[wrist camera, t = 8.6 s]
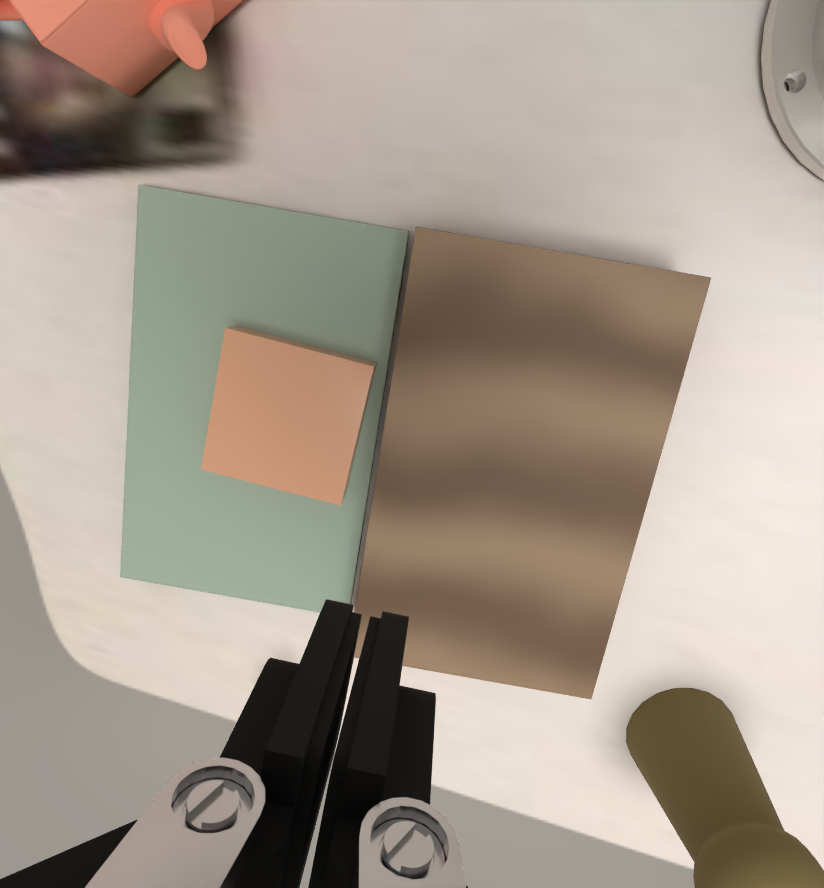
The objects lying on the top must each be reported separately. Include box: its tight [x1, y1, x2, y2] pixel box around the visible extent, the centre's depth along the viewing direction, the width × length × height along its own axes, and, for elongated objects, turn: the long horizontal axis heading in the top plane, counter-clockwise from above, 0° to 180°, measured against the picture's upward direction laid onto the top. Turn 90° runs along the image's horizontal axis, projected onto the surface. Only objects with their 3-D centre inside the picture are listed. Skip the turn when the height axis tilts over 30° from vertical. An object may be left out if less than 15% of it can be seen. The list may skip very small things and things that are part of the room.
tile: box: [201, 326, 377, 506], centre depth 30 cm, size 7×7×2 cm
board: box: [354, 227, 711, 699], centre depth 29 cm, size 20×12×4 cm, turn 171°
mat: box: [120, 185, 409, 612], centre depth 31 cm, size 20×12×1 cm, turn 171°
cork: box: [626, 688, 824, 888], centre depth 30 cm, size 6×6×11 cm
